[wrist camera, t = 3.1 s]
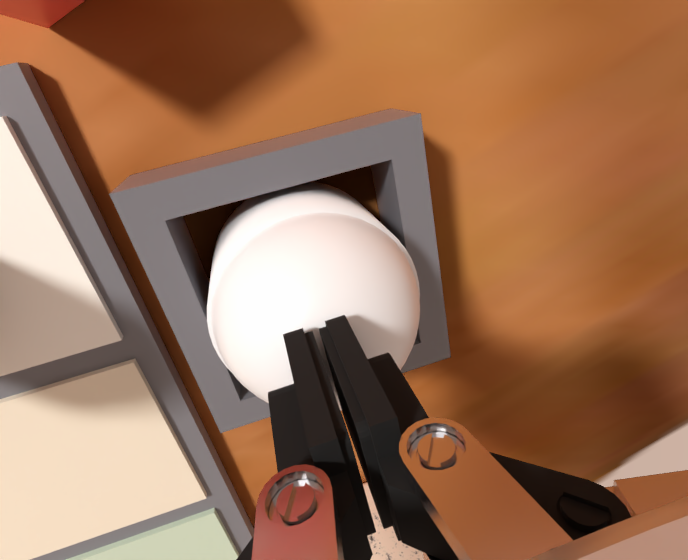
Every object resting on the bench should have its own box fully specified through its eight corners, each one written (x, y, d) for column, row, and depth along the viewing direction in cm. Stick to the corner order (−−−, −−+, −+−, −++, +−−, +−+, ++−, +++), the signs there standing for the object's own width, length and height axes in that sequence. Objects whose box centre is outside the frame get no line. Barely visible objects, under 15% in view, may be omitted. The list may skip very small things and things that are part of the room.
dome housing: (390, 108, 17) (420, 113, 14) (423, 322, 21) (450, 356, 19) (130, 175, 16) (109, 194, 13) (222, 386, 20) (220, 432, 18)
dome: (367, 160, 17) (447, 206, 10) (395, 313, 20) (470, 420, 14) (184, 209, 16) (154, 290, 10) (244, 361, 19) (249, 496, 13)
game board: (28, 63, 14) (12, 62, 13) (283, 590, 27) (285, 609, 26) (-450, 169, 12) (-508, 176, 11) (69, 671, 26) (63, 694, 25)
